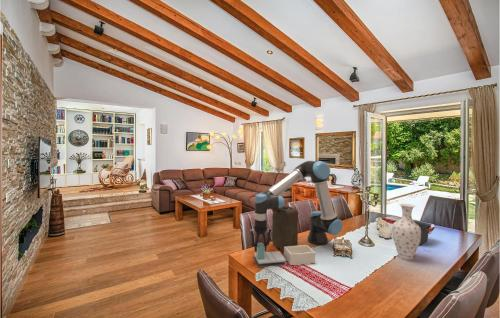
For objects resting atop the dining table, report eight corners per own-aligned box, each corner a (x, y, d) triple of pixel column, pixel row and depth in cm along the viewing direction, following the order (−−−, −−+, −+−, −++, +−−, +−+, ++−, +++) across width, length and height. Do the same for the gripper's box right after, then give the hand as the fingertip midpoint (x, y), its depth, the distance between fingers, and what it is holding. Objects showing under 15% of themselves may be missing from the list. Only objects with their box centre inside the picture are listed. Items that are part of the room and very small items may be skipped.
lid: (279, 252, 160) (279, 239, 160) (285, 261, 148) (286, 247, 147) (254, 254, 157) (254, 241, 157) (258, 263, 144) (259, 249, 144)
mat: (279, 255, 161) (279, 254, 161) (286, 265, 147) (286, 264, 147) (253, 257, 157) (253, 257, 157) (258, 267, 144) (258, 267, 144)
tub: (306, 255, 162) (306, 244, 161) (315, 263, 150) (315, 252, 150) (283, 257, 159) (284, 246, 158) (290, 265, 147) (290, 254, 147)
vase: (395, 250, 171) (396, 201, 170) (422, 257, 159) (424, 205, 158) (388, 257, 160) (389, 204, 158) (417, 265, 148) (419, 209, 147)
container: (298, 253, 165) (299, 209, 164) (286, 255, 161) (286, 211, 160) (282, 241, 186) (282, 202, 185) (270, 243, 182) (271, 203, 181)
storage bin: (413, 236, 199) (413, 219, 198) (435, 242, 186) (436, 224, 185) (400, 242, 187) (401, 223, 186) (423, 248, 174) (424, 229, 174)
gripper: (271, 217, 156) (271, 252, 156) (246, 218, 152) (246, 254, 153) (275, 220, 148) (274, 257, 149) (248, 221, 145) (248, 260, 146)
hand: (260, 256), depth 151 cm, fingers closed on lid, 3 cm apart
